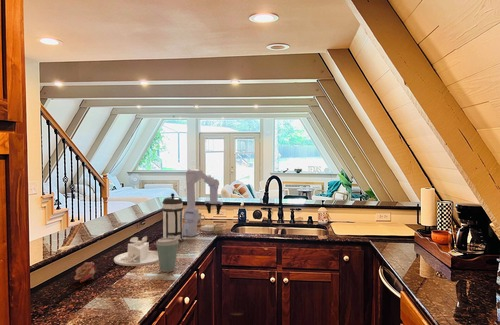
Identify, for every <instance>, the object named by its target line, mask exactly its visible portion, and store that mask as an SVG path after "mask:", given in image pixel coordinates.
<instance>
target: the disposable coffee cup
mask: <svg viewBox="0 0 500 325" xmlns="http://www.w3.org/2000/svg"><path fill="white" fill-rule="evenodd" d="M179 242H180V241H179V240H177V238H176V237H168V238H163V237H162V238H159V239H158V240H157V241H155V245H156V251H157V252H158V258H159V261H158V263H159V270H160V271H161V272H163V273H164V272H166V273H169V272H173V271H174V270H175V267H176V261H177V253H178V247H179V244H180V243H179Z"/></svg>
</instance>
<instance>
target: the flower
mask: <svg viewBox="0 0 500 325" xmlns="http://www.w3.org/2000/svg"><path fill="white" fill-rule="evenodd" d="M96 270H97V268H96V267H95V263H94V262H93V261H90V262H84V263H83V264H82V265H80V266H79V267H77V268H76V270H75V273H76V275H74V277H73V278H74V280H76V281H77V280H79V283H81V284H82V283H84V282H86V281H87V280H89V279H90V278H91V280H94V279H95V277H94V275H95V273H96Z"/></svg>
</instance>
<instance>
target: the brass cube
mask: <svg viewBox="0 0 500 325" xmlns="http://www.w3.org/2000/svg"><path fill="white" fill-rule="evenodd" d="M213 233H214V234H216V235H218V233H221V234H223V225H221V224H214V230H213Z"/></svg>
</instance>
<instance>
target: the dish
mask: <svg viewBox="0 0 500 325" xmlns="http://www.w3.org/2000/svg"><path fill="white" fill-rule="evenodd" d="M147 240H148V236H147V235H145V236H143V237H142V238H141V240H139V237H137V236H134V237H131V238H130V239H129V242H130V243H127V252H124V253H121V254H118V255H116V256H114V258H113V262H114V263H115V264H116V265H119V266H127V267H133V266H134V267H138V266H146V265H152V264H156V263H157V262H158V263H159V258H158V252H157V250H149V249H150V245H149V243H150V241H148V242H147Z"/></svg>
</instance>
